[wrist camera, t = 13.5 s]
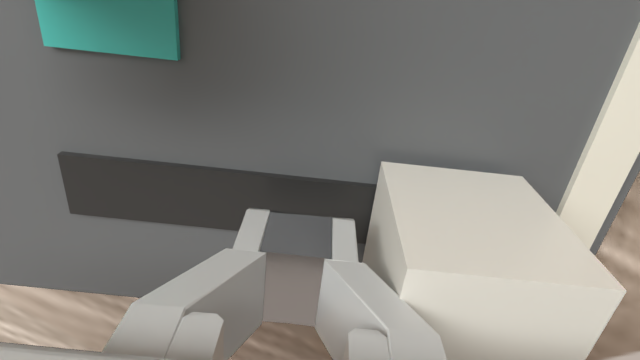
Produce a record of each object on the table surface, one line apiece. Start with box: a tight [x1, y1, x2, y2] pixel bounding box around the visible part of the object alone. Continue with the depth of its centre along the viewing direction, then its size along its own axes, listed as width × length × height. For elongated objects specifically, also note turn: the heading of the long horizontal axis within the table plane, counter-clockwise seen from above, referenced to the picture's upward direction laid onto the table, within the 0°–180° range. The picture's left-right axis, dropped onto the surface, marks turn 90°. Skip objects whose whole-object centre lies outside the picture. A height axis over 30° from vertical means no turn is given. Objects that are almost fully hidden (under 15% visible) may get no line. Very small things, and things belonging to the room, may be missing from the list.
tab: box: [362, 161, 627, 360], centre depth 9 cm, size 4×4×4 cm
